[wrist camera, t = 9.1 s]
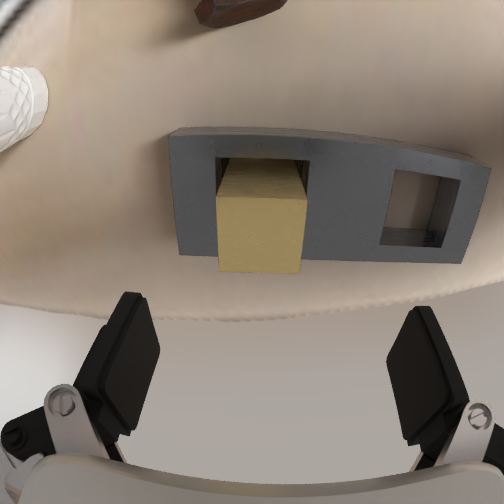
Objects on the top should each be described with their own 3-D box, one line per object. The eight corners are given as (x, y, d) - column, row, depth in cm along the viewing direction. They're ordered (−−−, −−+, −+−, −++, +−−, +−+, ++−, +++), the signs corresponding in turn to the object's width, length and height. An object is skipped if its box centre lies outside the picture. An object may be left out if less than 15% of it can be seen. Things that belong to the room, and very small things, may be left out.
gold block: (293, 157, 22) (307, 199, 15) (289, 212, 24) (298, 273, 17) (231, 155, 22) (215, 196, 15) (231, 211, 24) (219, 271, 17)
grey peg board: (471, 156, 20) (491, 168, 17) (446, 245, 25) (460, 263, 22) (179, 128, 20) (168, 136, 18) (187, 235, 25) (179, 255, 23)
